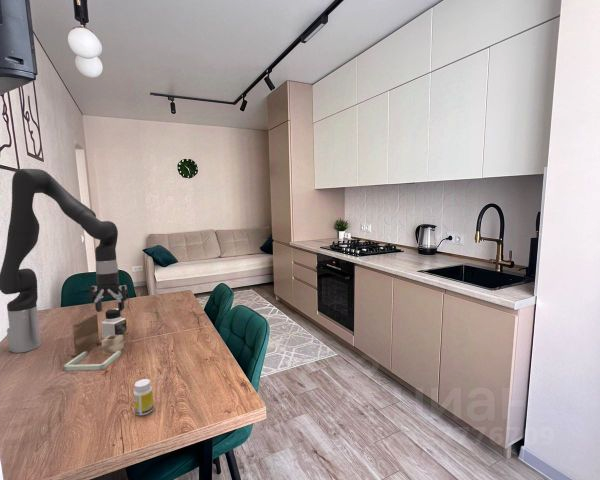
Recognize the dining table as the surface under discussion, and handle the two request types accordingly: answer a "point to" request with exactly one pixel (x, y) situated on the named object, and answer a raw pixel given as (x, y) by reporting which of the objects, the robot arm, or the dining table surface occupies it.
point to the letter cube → (112, 344)
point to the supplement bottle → (143, 397)
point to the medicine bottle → (113, 323)
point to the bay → (102, 366)
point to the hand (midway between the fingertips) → (110, 311)
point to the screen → (86, 335)
